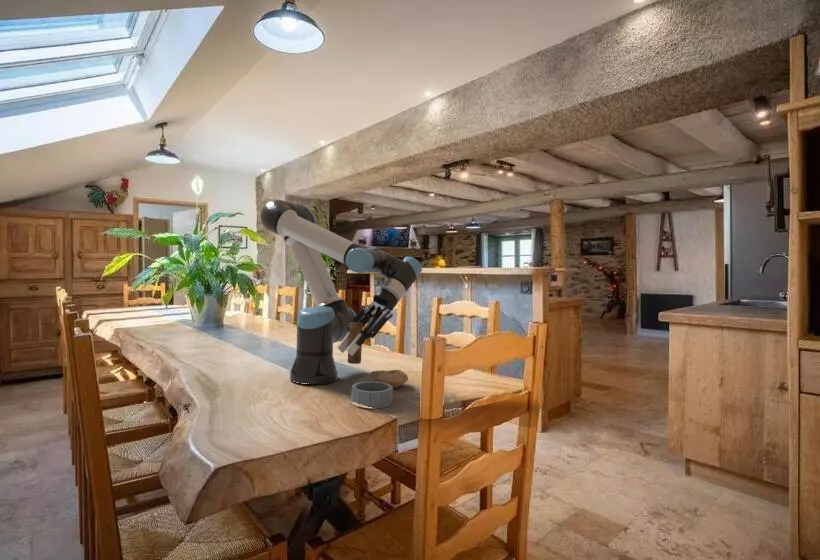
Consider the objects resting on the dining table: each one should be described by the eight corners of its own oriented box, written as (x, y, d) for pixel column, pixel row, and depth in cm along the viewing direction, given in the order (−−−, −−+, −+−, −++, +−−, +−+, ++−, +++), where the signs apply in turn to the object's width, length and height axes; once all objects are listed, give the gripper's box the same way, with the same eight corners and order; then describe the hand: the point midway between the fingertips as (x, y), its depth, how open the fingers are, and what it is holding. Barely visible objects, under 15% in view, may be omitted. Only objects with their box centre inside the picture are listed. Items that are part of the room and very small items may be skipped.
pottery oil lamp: (376, 378, 144) (386, 360, 145) (403, 397, 138) (414, 378, 139) (363, 374, 137) (374, 355, 137) (391, 394, 130) (403, 373, 131)
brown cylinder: (345, 362, 130) (347, 323, 129) (350, 360, 134) (352, 321, 133) (357, 364, 129) (360, 324, 128) (362, 361, 133) (364, 322, 132)
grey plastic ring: (345, 406, 115) (345, 389, 115) (360, 395, 126) (361, 379, 126) (384, 411, 113) (384, 394, 112) (396, 399, 123) (397, 383, 123)
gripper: (413, 306, 136) (369, 364, 124) (377, 301, 148) (334, 354, 136) (401, 289, 132) (355, 348, 120) (366, 285, 144) (321, 338, 132)
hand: (344, 351), depth 128 cm, fingers closed on brown cylinder, 4 cm apart
